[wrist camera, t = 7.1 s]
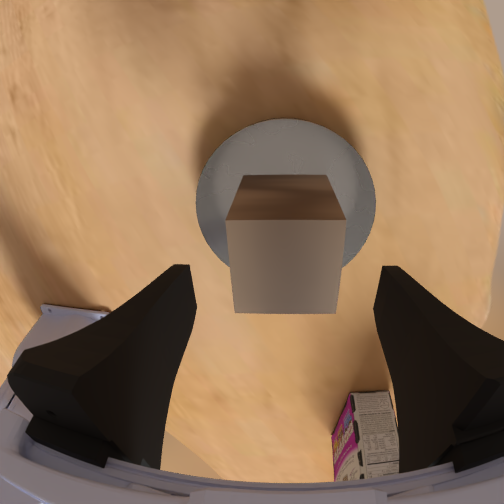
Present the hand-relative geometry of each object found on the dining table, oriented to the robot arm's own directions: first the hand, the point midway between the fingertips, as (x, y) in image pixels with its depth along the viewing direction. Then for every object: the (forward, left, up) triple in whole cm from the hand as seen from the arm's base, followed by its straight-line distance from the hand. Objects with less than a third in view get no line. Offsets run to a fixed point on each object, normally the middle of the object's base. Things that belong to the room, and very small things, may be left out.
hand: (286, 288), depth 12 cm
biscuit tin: (0, 0, -10) cm, 10 cm away
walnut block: (0, 0, -7) cm, 7 cm away
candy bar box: (+10, -26, -10) cm, 30 cm away
